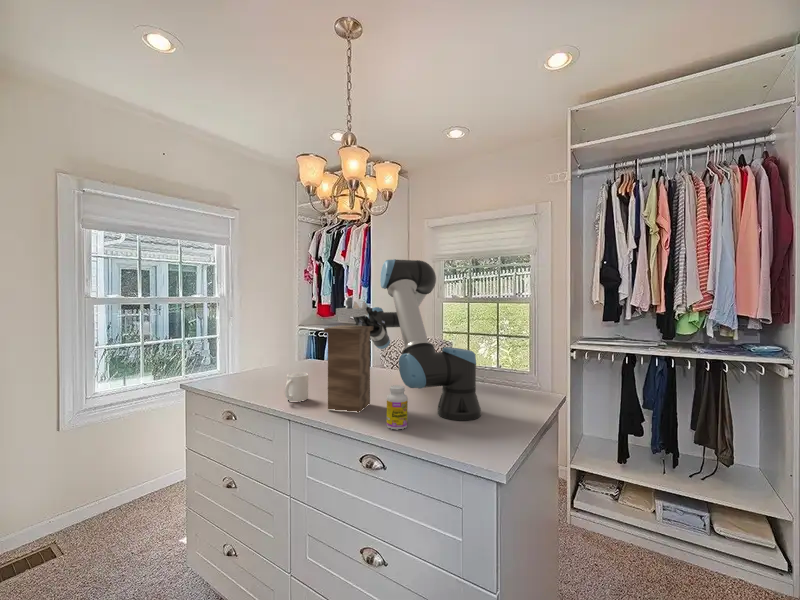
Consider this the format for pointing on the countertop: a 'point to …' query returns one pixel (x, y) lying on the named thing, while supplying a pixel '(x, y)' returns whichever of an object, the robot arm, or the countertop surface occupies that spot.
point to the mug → (297, 387)
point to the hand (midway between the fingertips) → (358, 304)
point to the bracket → (350, 310)
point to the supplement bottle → (397, 408)
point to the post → (348, 367)
